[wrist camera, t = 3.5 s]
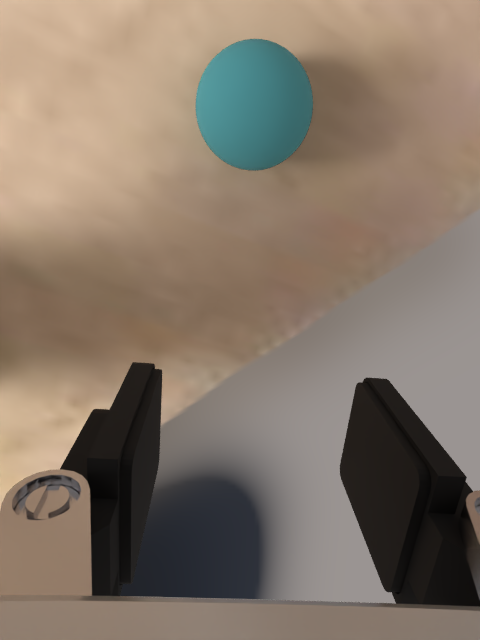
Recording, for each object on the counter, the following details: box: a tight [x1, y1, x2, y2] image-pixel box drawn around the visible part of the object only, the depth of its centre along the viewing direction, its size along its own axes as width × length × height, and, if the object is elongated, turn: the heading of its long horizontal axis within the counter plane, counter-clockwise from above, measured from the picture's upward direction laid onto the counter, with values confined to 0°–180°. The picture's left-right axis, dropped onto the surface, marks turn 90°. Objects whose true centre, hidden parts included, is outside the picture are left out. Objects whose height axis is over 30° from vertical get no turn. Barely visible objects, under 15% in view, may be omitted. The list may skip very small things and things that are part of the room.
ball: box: [196, 39, 313, 170], centre depth 22 cm, size 6×6×6 cm
